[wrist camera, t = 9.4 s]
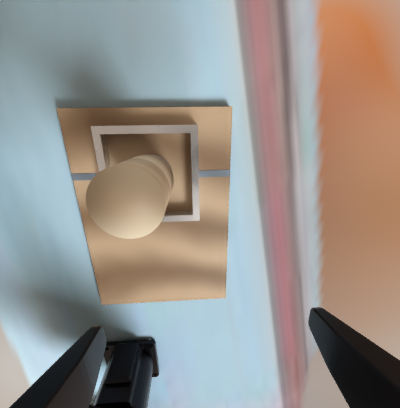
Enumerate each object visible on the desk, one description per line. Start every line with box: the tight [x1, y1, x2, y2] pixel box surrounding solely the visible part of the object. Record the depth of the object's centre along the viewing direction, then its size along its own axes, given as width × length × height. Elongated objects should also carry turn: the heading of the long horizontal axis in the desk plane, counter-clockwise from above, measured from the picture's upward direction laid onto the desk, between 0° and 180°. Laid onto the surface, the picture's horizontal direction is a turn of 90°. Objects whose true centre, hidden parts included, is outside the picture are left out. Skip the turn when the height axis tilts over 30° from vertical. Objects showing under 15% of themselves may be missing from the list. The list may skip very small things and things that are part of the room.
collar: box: [91, 125, 200, 222], centre depth 17 cm, size 8×8×1 cm
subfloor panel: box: [57, 107, 232, 305], centre depth 20 cm, size 20×14×1 cm
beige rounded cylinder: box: [86, 154, 174, 239], centre depth 14 cm, size 4×4×8 cm
